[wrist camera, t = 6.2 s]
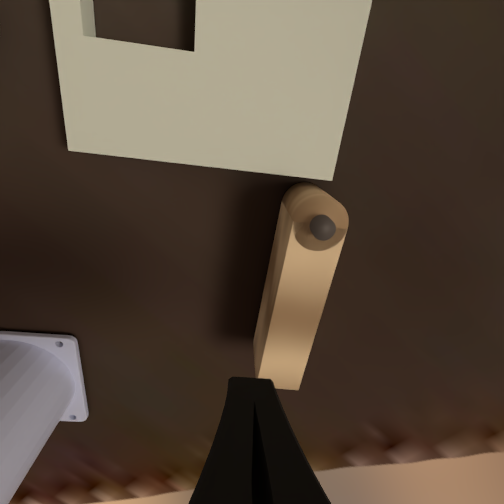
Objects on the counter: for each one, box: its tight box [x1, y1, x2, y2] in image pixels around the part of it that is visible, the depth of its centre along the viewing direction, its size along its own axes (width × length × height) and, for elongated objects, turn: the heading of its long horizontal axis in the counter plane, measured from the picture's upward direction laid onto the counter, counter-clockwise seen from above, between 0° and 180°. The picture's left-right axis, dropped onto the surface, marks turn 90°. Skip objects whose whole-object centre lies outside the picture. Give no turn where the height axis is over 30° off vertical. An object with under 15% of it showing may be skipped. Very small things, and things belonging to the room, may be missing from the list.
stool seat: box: [49, 0, 372, 181], centre depth 12 cm, size 13×12×1 cm
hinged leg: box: [253, 182, 349, 390], centre depth 16 cm, size 11×2×5 cm, turn 171°
